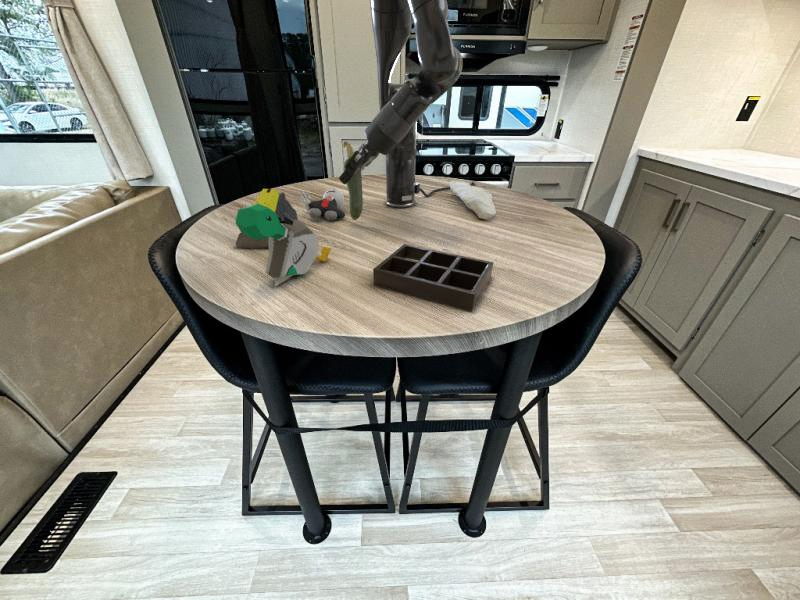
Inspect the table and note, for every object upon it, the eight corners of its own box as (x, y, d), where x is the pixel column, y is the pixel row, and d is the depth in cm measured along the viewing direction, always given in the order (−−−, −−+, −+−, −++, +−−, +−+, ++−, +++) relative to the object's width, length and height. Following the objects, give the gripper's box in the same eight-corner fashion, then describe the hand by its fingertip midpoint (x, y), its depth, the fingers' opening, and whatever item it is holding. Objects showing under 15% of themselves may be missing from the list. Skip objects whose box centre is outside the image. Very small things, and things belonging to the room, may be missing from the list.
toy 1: (336, 223, 71) (269, 180, 53) (320, 297, 70) (246, 279, 52) (313, 221, 74) (242, 180, 56) (297, 292, 73) (219, 274, 55)
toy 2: (286, 202, 89) (304, 182, 101) (291, 224, 93) (307, 203, 105) (341, 206, 88) (352, 186, 100) (343, 228, 93) (354, 206, 104)
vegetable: (367, 219, 90) (362, 140, 79) (359, 224, 87) (353, 143, 76) (353, 217, 92) (347, 139, 81) (345, 222, 89) (337, 142, 77)
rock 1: (218, 223, 73) (277, 203, 71) (236, 206, 82) (289, 187, 79) (247, 264, 79) (301, 246, 77) (261, 244, 88) (310, 227, 86)
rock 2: (446, 193, 118) (461, 219, 92) (449, 178, 115) (465, 200, 89) (484, 198, 119) (509, 224, 93) (488, 183, 116) (515, 206, 90)
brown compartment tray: (403, 258, 73) (404, 243, 71) (490, 277, 65) (493, 262, 64) (373, 285, 63) (372, 269, 61) (472, 311, 55) (474, 294, 54)
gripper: (387, 112, 79) (347, 162, 89) (366, 117, 68) (322, 173, 77) (408, 137, 81) (366, 183, 90) (390, 145, 69) (344, 197, 79)
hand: (346, 178), depth 84 cm, fingers closed on vegetable, 4 cm apart
